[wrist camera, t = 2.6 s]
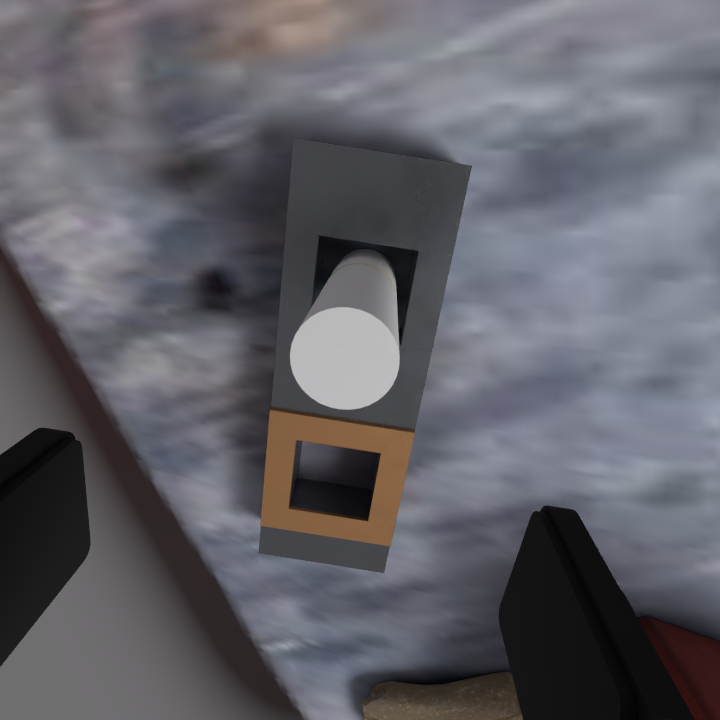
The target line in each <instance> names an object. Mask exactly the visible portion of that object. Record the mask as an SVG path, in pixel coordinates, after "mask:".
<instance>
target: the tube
mask: <svg viewBox="0 0 720 720" xmlns="http://www.w3.org/2000/svg"><path fill="white" fill-rule="evenodd" d="M399 360H400V355H399V334H398V313H397V292H396V276H395V271H394V268H393V266H392V264H391V263H390V261H389V260H388V259H387V258H386V257H385V256H384V255H382V254H381V253H379V252H377V251H375V250H371V249H358V250H354V251H352V252H350V253H348V254H346V255H345V256H344V257H343V258H342V259H341V260H340V261H339V263H338V264H337V266H336V268H335V269H334V271H333V273H332V274H331V276H330V278H329V279H328V281H327V283H326V284H325V286H324V288H323V289H322V291H321V293H320V294H319V296H318V298H317V299H316V301H315V303H314V304H313V306H312V308H311V309H310V311H309V313H308V314H307V316H306V317H305V319H304V321H303V322H302V324H301V326H300V327H299V329H298V331H297V332H296V334H295V337H294V339H293V342H292V344H291V351H290V364H291V368H292V372H293V375H294V377H295V379H296V381H297V383H298V384H299V386H300V387H301V388H302V390H303V391H304V392H305V393H306V394H307V395H309V396H310V397H311V398H312V399H314V400H315V401H317V402H319V403H320V404H323V405H325V406H328V407H331V408H336V409H343V410H352V409H358V408H362V407H365V406H368V405H370V404H372V403H374V402H376V401H378V400H379V399H380V398H382V397H383V396H384V395H385V394H386V393H387V392H388V391H389V389H390V388H391V387H392V385H393V383H394V381H395V379H396V377H397V374H398V370H399Z"/></svg>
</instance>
